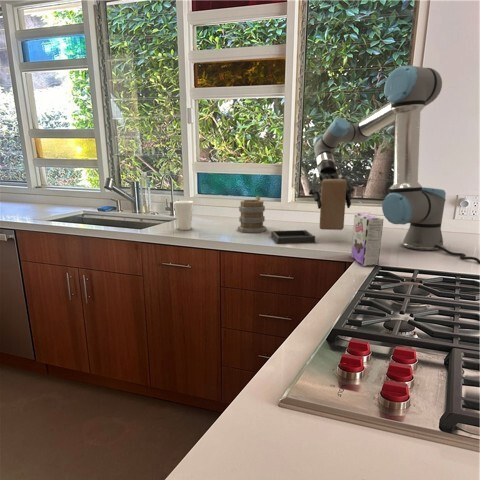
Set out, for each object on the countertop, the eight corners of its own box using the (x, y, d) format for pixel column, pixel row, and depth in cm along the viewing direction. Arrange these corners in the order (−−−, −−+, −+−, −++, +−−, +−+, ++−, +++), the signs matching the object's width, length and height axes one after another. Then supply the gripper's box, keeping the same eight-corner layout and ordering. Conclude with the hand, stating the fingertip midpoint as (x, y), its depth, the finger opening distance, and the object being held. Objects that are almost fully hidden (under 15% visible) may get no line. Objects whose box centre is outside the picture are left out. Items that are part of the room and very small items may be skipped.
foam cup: (198, 228, 231) (197, 201, 226) (186, 231, 224) (185, 203, 219) (183, 226, 236) (181, 200, 231) (171, 229, 229) (169, 202, 224)
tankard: (260, 233, 217) (261, 200, 212) (235, 231, 221) (235, 199, 215) (271, 226, 235) (272, 196, 229) (248, 225, 239) (248, 195, 233)
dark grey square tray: (314, 242, 196) (315, 236, 196) (277, 243, 195) (277, 237, 194) (305, 235, 211) (305, 230, 210) (271, 236, 210) (271, 230, 209)
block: (343, 230, 193) (346, 180, 186) (319, 229, 195) (321, 180, 188) (343, 226, 203) (346, 178, 195) (320, 225, 204) (322, 178, 197)
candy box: (350, 257, 171) (354, 212, 165) (366, 256, 172) (370, 211, 166) (362, 266, 158) (366, 218, 152) (379, 266, 159) (384, 217, 153)
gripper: (350, 171, 207) (359, 211, 198) (297, 172, 204) (304, 212, 195) (355, 159, 200) (365, 199, 191) (300, 160, 197) (308, 201, 189)
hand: (334, 206), depth 193 cm, fingers closed on block, 12 cm apart
